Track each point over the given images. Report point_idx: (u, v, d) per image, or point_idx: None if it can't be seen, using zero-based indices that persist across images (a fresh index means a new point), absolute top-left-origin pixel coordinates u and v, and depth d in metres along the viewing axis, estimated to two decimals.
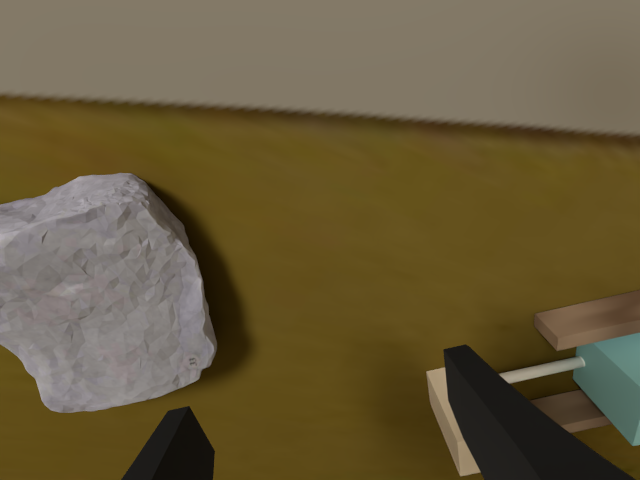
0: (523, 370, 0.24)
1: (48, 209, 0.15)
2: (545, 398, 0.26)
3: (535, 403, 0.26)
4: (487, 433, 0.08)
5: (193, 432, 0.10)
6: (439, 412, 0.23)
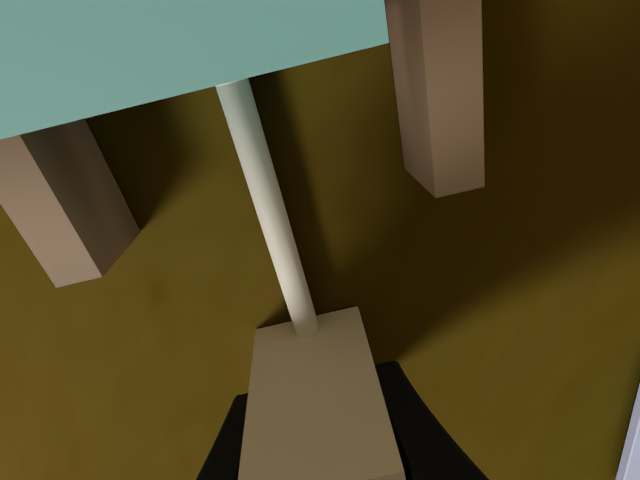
0: None
1: None
2: (400, 127, 0.09)
3: (407, 163, 0.09)
4: (400, 452, 0.08)
5: None
6: None
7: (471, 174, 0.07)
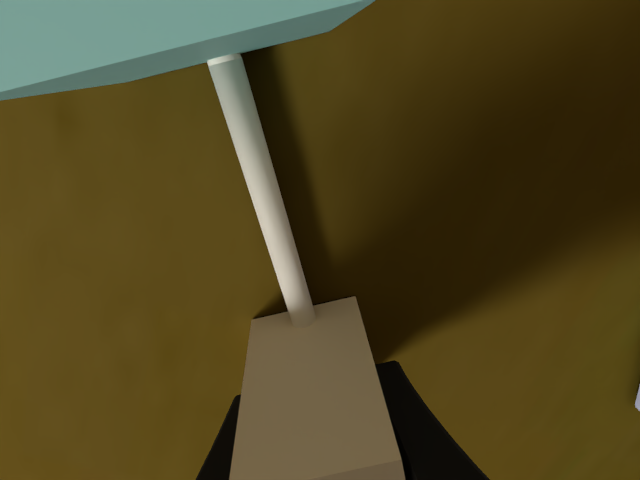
0: (262, 229, 0.09)
1: None
2: None
3: None
4: (400, 452, 0.08)
5: None
6: None
7: None
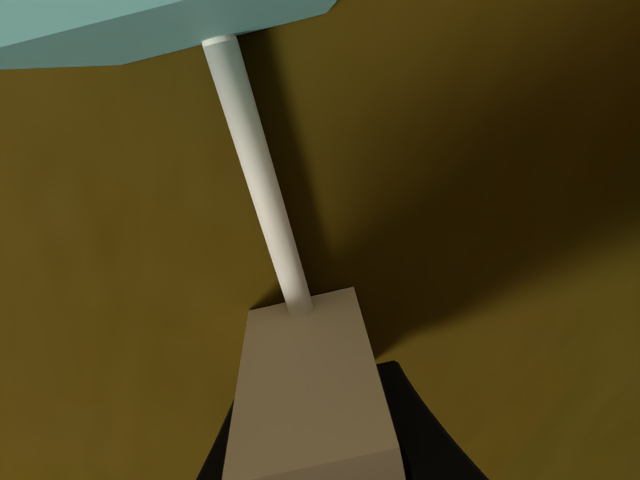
0: (258, 216, 0.09)
1: None
2: None
3: None
4: None
5: None
6: None
7: None
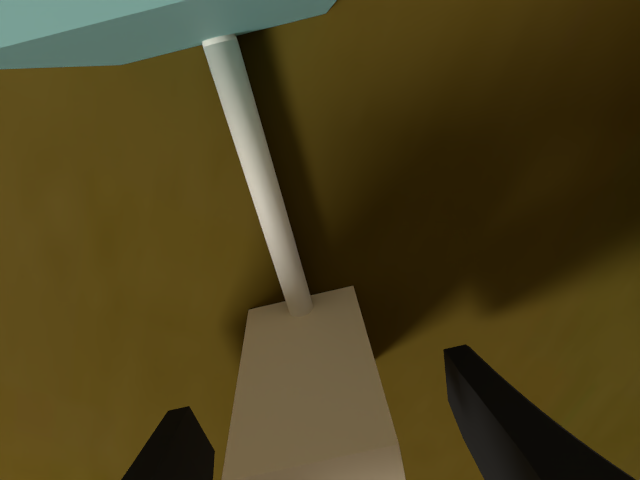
0: (258, 215, 0.09)
1: None
2: None
3: None
4: (487, 433, 0.08)
5: (193, 432, 0.10)
6: None
7: None
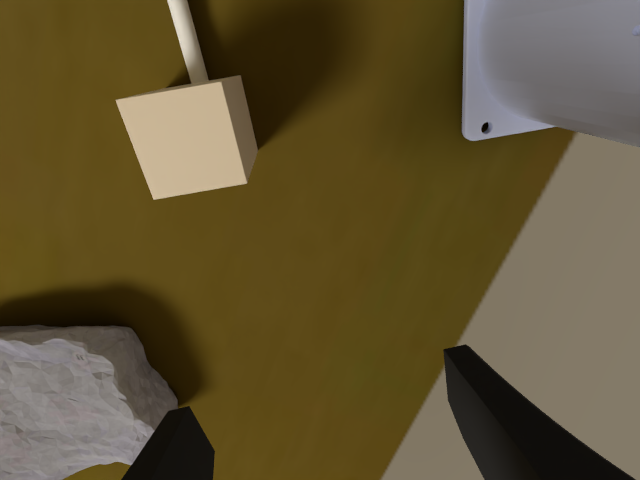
0: None
1: None
2: None
3: None
4: (487, 433, 0.08)
5: (193, 433, 0.10)
6: None
7: None
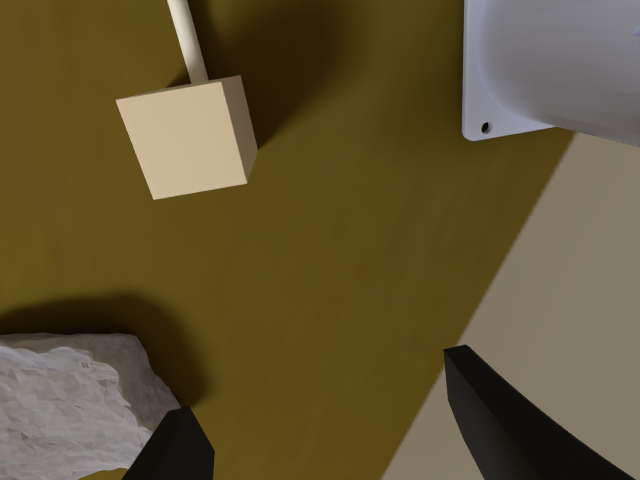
0: None
1: None
2: None
3: None
4: (487, 433, 0.08)
5: (193, 433, 0.10)
6: None
7: None
